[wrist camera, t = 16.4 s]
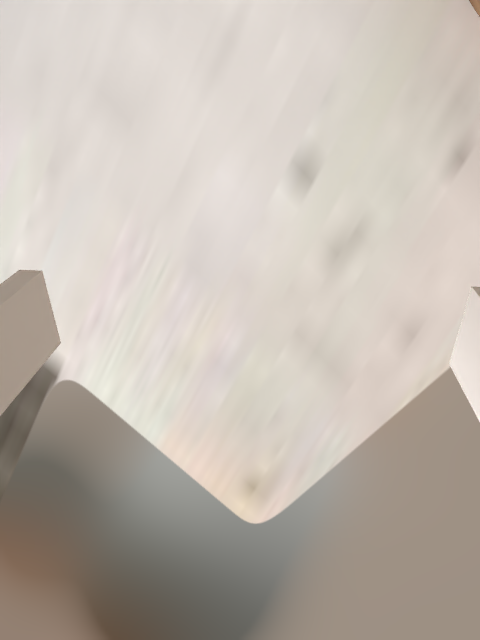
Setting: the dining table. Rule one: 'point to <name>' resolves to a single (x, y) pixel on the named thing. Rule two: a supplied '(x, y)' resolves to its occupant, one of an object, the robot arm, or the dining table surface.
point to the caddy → (476, 5)
